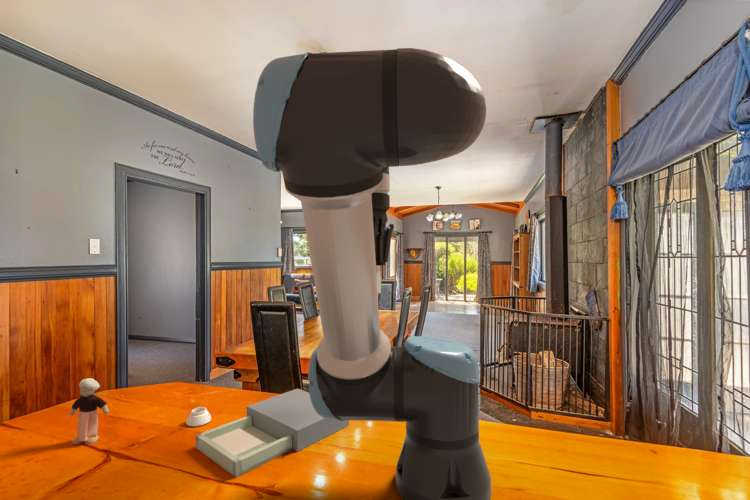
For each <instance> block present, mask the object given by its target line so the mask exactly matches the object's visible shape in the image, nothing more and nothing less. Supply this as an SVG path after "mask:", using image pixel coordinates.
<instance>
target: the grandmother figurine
mask: <svg viewBox="0 0 750 500" xmlns="http://www.w3.org/2000/svg"><path fill="white" fill-rule="evenodd" d="M78 385H79V386H78V387H79V394H80V396H79V397H78V398H76V399H75V400H74V402H73V403H72V406H71V409H70V411H69V415H70V416H74V415H76V414H77V411H78V410H79V411H78V415H77V430H76V432H77V433H76V437H75V438H74V439H72V441H71V444H72V445H77V444H81V443H83V442H84V444H86V445H87V444H88V445H89V444H90V445H91V444H94V443H95V442H97V441H98V440H99V439H100V436H99V435H98V428H99V419H98V408H99V409H101V410H102V414H103V415H107V414H109V413H110V410H109V408H108V405H107V404H108V403H107V401H105V400H104V399H103V398H102V397H99V396H98V395H96V394H95V393H96V391H97V390H98V389H99V388H101V386H100V384H99V382H98V381H97V380H95V379H94V378H91V377H90V378H83V379H82V380H80V382H79V384H78Z"/></svg>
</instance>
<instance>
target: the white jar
mask: <svg viewBox="0 0 750 500" xmlns="http://www.w3.org/2000/svg"><path fill="white" fill-rule="evenodd" d="M210 421H212V416H211V414H210V411H208V409H207V407H204V406H198V407H195V408H193V409H192V410H191V412H190V414H189V415H188V417H187V420H186V425H187V426H188V427H200V426H201V427H202V426H204V425H206V424H208V423H209V422H210Z"/></svg>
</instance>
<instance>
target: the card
mask: <svg viewBox="0 0 750 500" xmlns="http://www.w3.org/2000/svg"><path fill="white" fill-rule="evenodd" d="M211 440H212V441H213V442H215V443H216V444H218V445H219V446H221V447H222V448H224V449H225V450H227V451H228V452H230V453H231V454H233V455H234V456H236V457H237V458H240V457H242V456H244V455H246V454H248V453H250V452H253V451H255V450H257V449H259V448H261V447H263V446H264V442H262V441H261V440H259V439H257V438H255V437H254V436H252V435H250V434H249V433H247V432H245V431H243V430H242V429H240V428H239V429H237V430H234V431H231V432H229V433H226V434H224V435H221V436H219V437H216V438H213V439H211Z"/></svg>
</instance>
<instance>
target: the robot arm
mask: <svg viewBox="0 0 750 500" xmlns="http://www.w3.org/2000/svg"><path fill="white" fill-rule="evenodd" d="M252 115H253V116H252V117H253V119H252V125H253V136H254V144H255V148H256V153H257V155H258V158H259V159H261V164H262V165H263V166H264V167H265V168H266V169H267V170H270V171H273V172H274V173H275V172H276V173H279V172H281V174H282V177H283V182H284V183H283V184H284V187H285V191H286V192H287V194H289V195H291V196H292V197H293V198H295V199H296V200H298V201H300V203H301V211H302V216H303V220H304V221H303V222H304V227H305V232H306V233H305V234H306V239H307V245H308V251H309V258H310V264H311V269H312V276H313V281H314V287H315V292H316V294H315V295H316V299H317V300H316V301H317V305H318V312H319V317H320V324H321V330H322V339H321V340H320V342H319V343H318V345H317V347H315V348H314V350H313V351H312V352H311V355H310V359H309V364H308V370H307V371H308V373H307V375H308V376H307V380H308V383H309V385H308V393H309V394H310V399H311V402H312V405H313V407H314V409H315V411H316V412H317V413H318V414H319V415H320V416H321V417H323V418H327V419H336V420H339V421H345V420H349V421H360V422H361V421H363V422H364V421H365V422H366V421H367V422H398V423H405V439H404V441H403V444H402V447H401V449H400V450H401V451H400V453H399V458H398V460H397V463H396V467H395V487H396V490H397V492H398V494H399V496H400V498H402V499H403V500H491V497H492V479H491V472H490V470H489V468H488V467H489V466H488V464H487V462H486V458H485V454H484V451H483V448H482V446H481V443H480V424H479V423H480V418H479V417H480V413H479V412H480V410H479V409H480V408H479V405H480V402H479V383H480V382H481V380H480V379H481V378H480V376H479V366H478V364H479V363H478V357H477V355H476V352H475V351H474V350H473V349H472V348H471V347H469V346H468V345H466V344H463V343H461V342H459V341H455V340H452V339H448V338H444V337H439V336H432V335H431V336H430V335H413V336H410V337H407V338H406V339H405V342H403V344H404V345H403V346H396V345H395V346H392V345H391V342H390V339H389V337H388V336H387V334H386V333H385V332H384V331H383V330H381V327H380V326H381V325H380V310H379V308H380V307H379V294H382V278H383V277H382V274H383V273H382V270H383V269H382V266H385V265H386V263H387V262H388V261H389V254H390V247H391V241H392V234H393V230H394V228H395V225H394V223H390V222H389V221H388V215H387V212H388V211H389V210H390V207H391V204H390V202H391V200H390V196H391V195H390V194H389V193H390V191H391V190H390V189H391V188H390V187H391V185H390V184H391V183H390V167H391V168H392V167H393V168H394V167H395V168H396V167H409V166H410V167H411V166H417V165H422V164H423V165H424V164H427V163H428V164H429V163H432V162H433V163H434V162H437V161H440V160H445V159H447V158H450V157H453V156H456V155H459V154H460V153H462V152H464V151H465V150H467V149H469V148H470V147H471V146H472V145H473V144H474V143H475V142H476V141H477V139H478V138H479V137H480V134H481V132H482V130H483V129H484V125H485V123H486V118H487V105H486V98H485V95H484V93H483V90H482V88H481V86H480V84H479V82H478V81H477V80H476V79H475V78H474V76H473V75H472V74H471V73H470V72H469V71H468V70H467V69H466V68H464V66H461V65H460V64H458V63H457V62H456V61H454V60H453V59H451V58H448V57H446V56H443V55H441V54H440V53H438V52H433V51H430V50H427V49H420V48H412V47H401V48H396V49H377V50H376V49H375V50H374V49H373V50H372V49H371V50H356V51H355V50H353V51H337V52H336V51H334V52H316V53H314V52H313V53H312V52H305V53H302V54H295V55H288V56H282V57H276V58H274V59H272V60H271V61H270V62H268V63H267V64H266V65H265V67H264V68H263V69H262V71H261V73H260V75H259V78H258V81H257V84H256V89H255V93H254V100H253V113H252Z"/></svg>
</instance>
